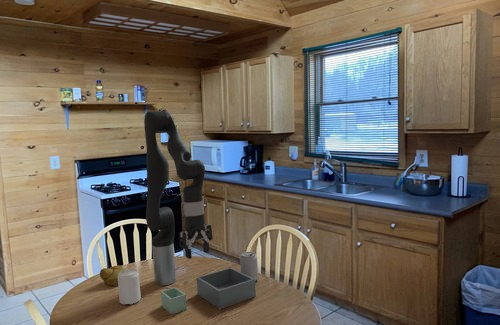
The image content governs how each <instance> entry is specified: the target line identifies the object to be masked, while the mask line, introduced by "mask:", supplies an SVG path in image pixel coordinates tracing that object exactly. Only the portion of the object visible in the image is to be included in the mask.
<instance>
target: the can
mask: <svg viewBox="0 0 500 325" xmlns="http://www.w3.org/2000/svg"><path fill="white" fill-rule="evenodd" d="M239 262H240V264H239V265H240V272H241V273H243V274H245V275H247V276H249V277H251V278H253V279H255V282H256V281H258V279H259V269H258V256H257V254H256V252H254V251H245V252H243V253H241V256H239Z"/></svg>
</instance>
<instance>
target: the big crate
mask: <svg viewBox="0 0 500 325" xmlns="http://www.w3.org/2000/svg"><path fill="white" fill-rule="evenodd" d="M196 291H197V292H196V293H197V295H198V296H200V297H201V298H202V299H204V300H206V301H207V302H209V303H210V304H212V305H213V306H214V307H216V308H217V309H219V310H222V309H224V308H227V307H230V306H233V305H235V304H238V303H241V302H244V301H247V300H249V299H251V298H255V297H256V296H257V295H256V281H255V279H253V278H251V277H249V276H247V275H245V274H243V273H241V271H239V270H237V269H235V268H233V267H228V268H224V269H223V268H222V269H220V270H218V271H214V272H210V273H207V274H203V275H200V276H197V277H196Z"/></svg>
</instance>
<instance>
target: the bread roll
mask: <svg viewBox="0 0 500 325" xmlns="http://www.w3.org/2000/svg"><path fill="white" fill-rule="evenodd" d="M123 270H127V268H125V267H124V266H123V265H113V266H111V267H109V268H106V267H105V268H102V269H101V270H100V272H99V277H100V279H101V280H103V282H104V285H106V286H107V285H111V286H110V287H113V286H112V285H116V286H118V275H119V272H121V271H123Z"/></svg>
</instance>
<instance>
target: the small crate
mask: <svg viewBox="0 0 500 325" xmlns="http://www.w3.org/2000/svg"><path fill="white" fill-rule="evenodd" d="M160 297H161V299H160V300H161V307H162V308H163V309H164V310H166V311H167V312H168V313H169V314H170V315H175V314H178V313H180V312H183V311H186V310H187V296H186V294H185V293H184V292H183V291H181V290H180V289H179V288H177V287H176V286H174V287H171V288H168V289H164V290H161V291H160Z"/></svg>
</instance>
